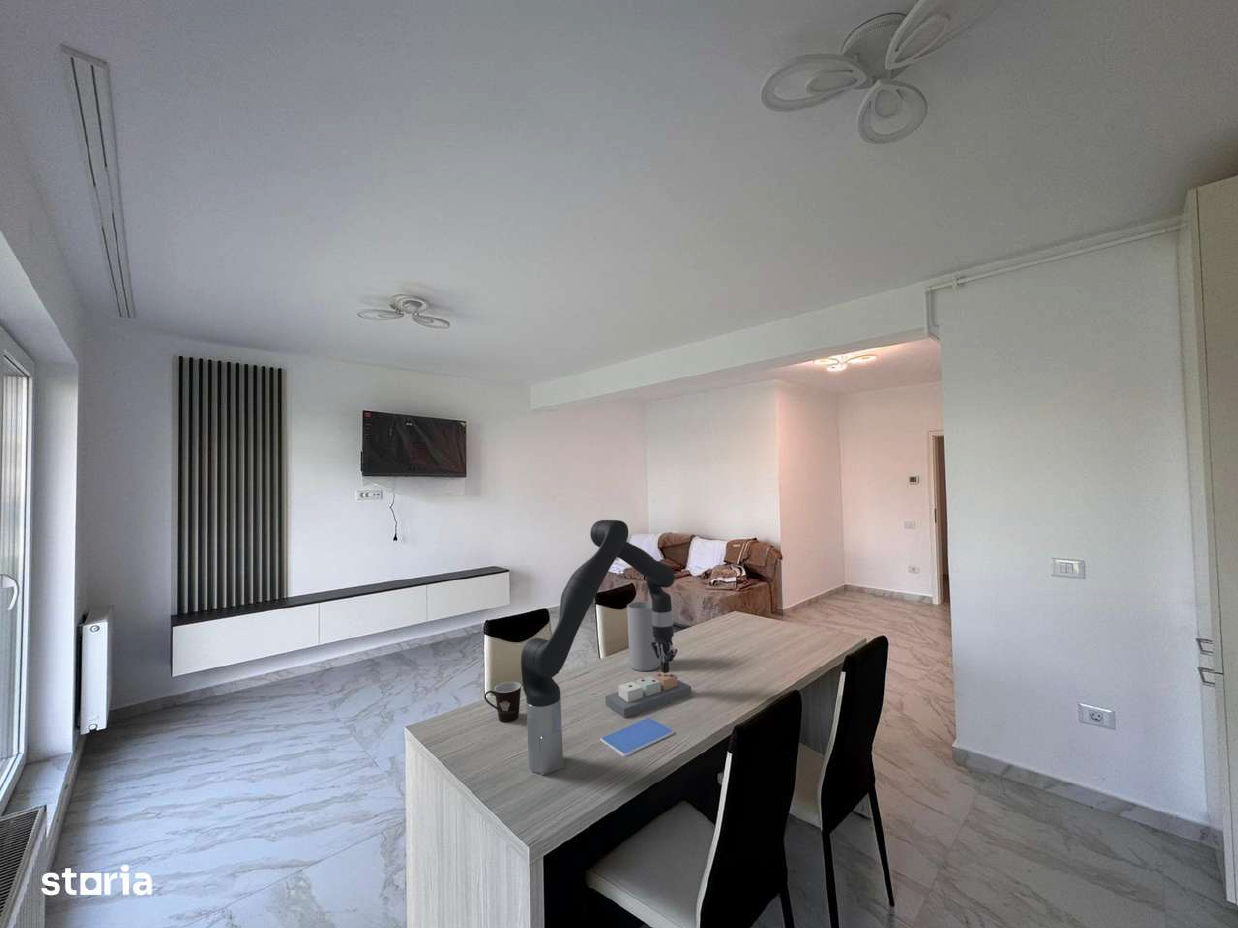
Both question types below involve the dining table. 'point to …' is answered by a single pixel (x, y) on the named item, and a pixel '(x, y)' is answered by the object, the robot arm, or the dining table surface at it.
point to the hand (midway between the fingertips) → (665, 672)
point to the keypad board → (647, 700)
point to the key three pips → (667, 680)
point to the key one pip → (630, 691)
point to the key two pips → (649, 685)
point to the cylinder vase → (641, 637)
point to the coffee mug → (507, 701)
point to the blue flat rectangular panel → (636, 736)
